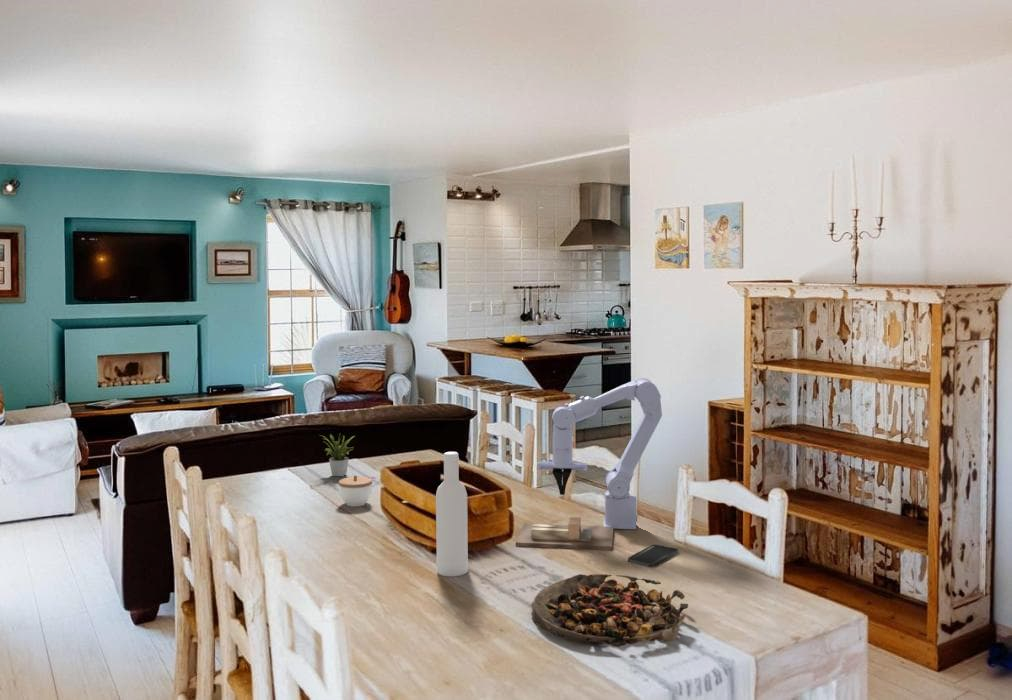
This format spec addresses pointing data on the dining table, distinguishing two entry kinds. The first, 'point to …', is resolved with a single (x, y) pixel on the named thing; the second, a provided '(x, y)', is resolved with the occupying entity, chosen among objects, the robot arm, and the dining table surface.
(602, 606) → the food dish
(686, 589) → the dining table surface
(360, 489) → the lidded jar
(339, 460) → the house plant
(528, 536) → the tongs base
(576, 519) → the brown rectangular block
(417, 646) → the dining table surface
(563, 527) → the bar
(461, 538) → the bottle
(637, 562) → the phone
